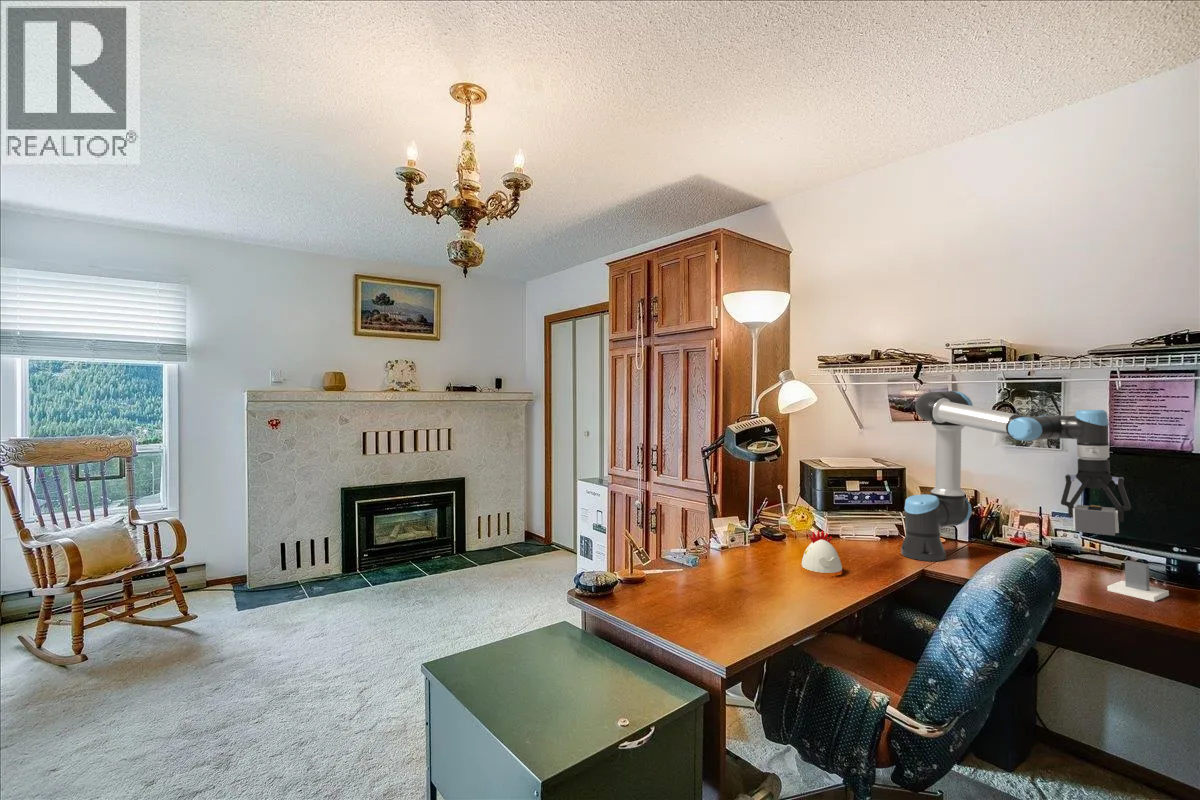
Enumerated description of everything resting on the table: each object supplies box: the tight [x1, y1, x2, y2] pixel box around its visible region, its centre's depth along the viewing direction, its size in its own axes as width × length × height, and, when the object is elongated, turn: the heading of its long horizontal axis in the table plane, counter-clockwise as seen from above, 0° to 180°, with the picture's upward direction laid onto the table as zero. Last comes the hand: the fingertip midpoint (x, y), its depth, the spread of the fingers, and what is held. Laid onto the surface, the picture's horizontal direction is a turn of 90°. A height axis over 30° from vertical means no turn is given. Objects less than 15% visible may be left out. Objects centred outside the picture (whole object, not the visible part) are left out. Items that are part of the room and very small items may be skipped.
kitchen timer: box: [801, 530, 843, 573], centre depth 200 cm, size 14×14×15 cm
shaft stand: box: [1106, 560, 1170, 603], centre depth 171 cm, size 11×10×10 cm
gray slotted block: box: [1074, 504, 1116, 536], centre depth 172 cm, size 9×9×7 cm
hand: (1095, 529), depth 172 cm, fingers closed on gray slotted block, 9 cm apart
